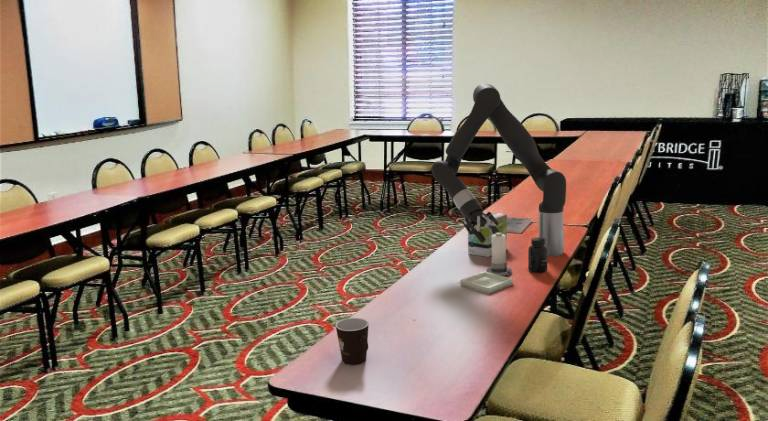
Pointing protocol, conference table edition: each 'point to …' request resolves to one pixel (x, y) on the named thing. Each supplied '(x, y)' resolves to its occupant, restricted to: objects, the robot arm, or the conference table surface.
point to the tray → (486, 282)
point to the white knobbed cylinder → (498, 248)
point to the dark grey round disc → (499, 269)
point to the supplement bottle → (537, 256)
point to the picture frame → (517, 224)
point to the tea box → (486, 237)
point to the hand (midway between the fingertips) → (491, 239)
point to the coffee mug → (353, 340)
